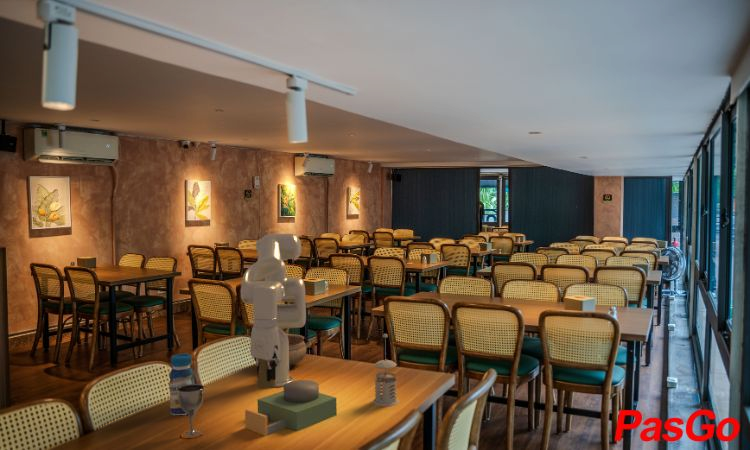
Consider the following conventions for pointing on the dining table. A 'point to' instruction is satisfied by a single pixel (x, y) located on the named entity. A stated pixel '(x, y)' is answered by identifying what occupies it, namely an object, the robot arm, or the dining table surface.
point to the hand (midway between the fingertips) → (266, 378)
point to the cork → (264, 375)
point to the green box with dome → (291, 408)
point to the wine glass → (191, 402)
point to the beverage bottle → (179, 380)
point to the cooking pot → (296, 348)
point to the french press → (387, 387)
